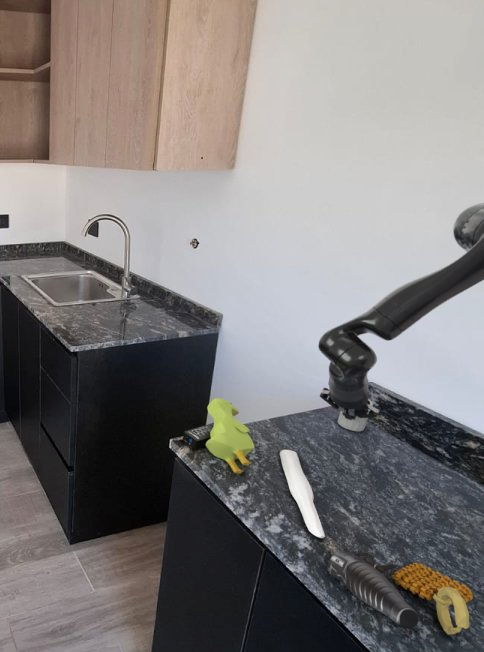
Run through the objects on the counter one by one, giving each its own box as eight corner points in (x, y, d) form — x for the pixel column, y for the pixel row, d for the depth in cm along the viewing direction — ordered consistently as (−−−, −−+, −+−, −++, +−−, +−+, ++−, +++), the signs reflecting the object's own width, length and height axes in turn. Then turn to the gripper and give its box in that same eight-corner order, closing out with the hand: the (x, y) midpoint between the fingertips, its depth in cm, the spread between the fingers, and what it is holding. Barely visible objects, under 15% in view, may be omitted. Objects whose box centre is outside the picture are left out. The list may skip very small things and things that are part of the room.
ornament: (451, 591, 79) (507, 661, 65) (377, 576, 82) (415, 640, 68) (457, 553, 78) (515, 617, 64) (383, 540, 82) (422, 597, 67)
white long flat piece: (329, 540, 86) (331, 529, 85) (303, 537, 87) (304, 526, 86) (296, 455, 111) (297, 446, 110) (276, 453, 112) (277, 444, 112)
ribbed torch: (409, 638, 70) (413, 628, 68) (319, 576, 79) (320, 566, 78) (435, 594, 73) (440, 584, 71) (345, 539, 83) (347, 529, 81)
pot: (357, 420, 127) (365, 395, 124) (368, 432, 121) (377, 407, 118) (333, 417, 127) (341, 392, 125) (343, 429, 122) (351, 404, 119)
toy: (286, 463, 104) (240, 396, 119) (229, 457, 98) (188, 386, 113) (267, 480, 107) (225, 412, 122) (212, 474, 101) (174, 404, 116)
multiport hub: (228, 438, 116) (230, 430, 115) (195, 449, 111) (196, 441, 110) (214, 429, 119) (216, 421, 118) (181, 439, 115) (183, 431, 114)
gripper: (389, 383, 105) (386, 414, 117) (324, 363, 114) (327, 393, 126) (375, 412, 103) (373, 440, 115) (310, 389, 112) (315, 417, 124)
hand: (349, 416), depth 121 cm, fingers closed
